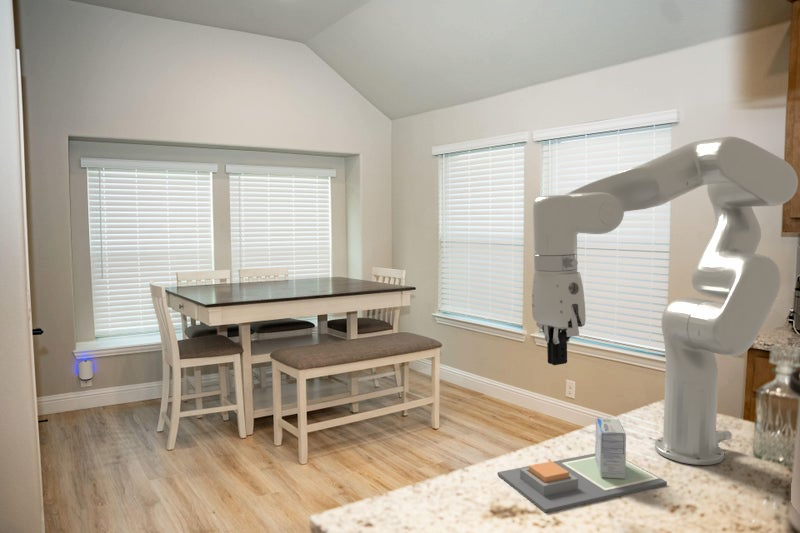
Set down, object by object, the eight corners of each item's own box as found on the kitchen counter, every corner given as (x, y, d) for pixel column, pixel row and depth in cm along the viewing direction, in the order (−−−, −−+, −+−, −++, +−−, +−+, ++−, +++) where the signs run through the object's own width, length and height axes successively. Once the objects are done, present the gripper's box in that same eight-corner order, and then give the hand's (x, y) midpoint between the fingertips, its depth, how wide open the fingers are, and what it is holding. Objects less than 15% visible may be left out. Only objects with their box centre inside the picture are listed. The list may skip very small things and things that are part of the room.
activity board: (608, 453, 119) (609, 442, 119) (666, 484, 105) (667, 472, 105) (497, 475, 110) (497, 462, 110) (545, 512, 96) (545, 498, 96)
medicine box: (625, 480, 106) (626, 433, 105) (599, 478, 107) (600, 432, 106) (618, 462, 114) (619, 418, 113) (594, 460, 114) (595, 417, 114)
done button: (551, 473, 108) (551, 461, 108) (568, 485, 104) (569, 472, 103) (528, 478, 106) (528, 465, 106) (545, 490, 102) (545, 477, 102)
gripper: (601, 265, 100) (602, 370, 102) (546, 259, 114) (548, 352, 116) (565, 269, 98) (567, 376, 99) (514, 262, 111) (516, 357, 113)
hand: (557, 363), depth 108 cm, fingers closed
